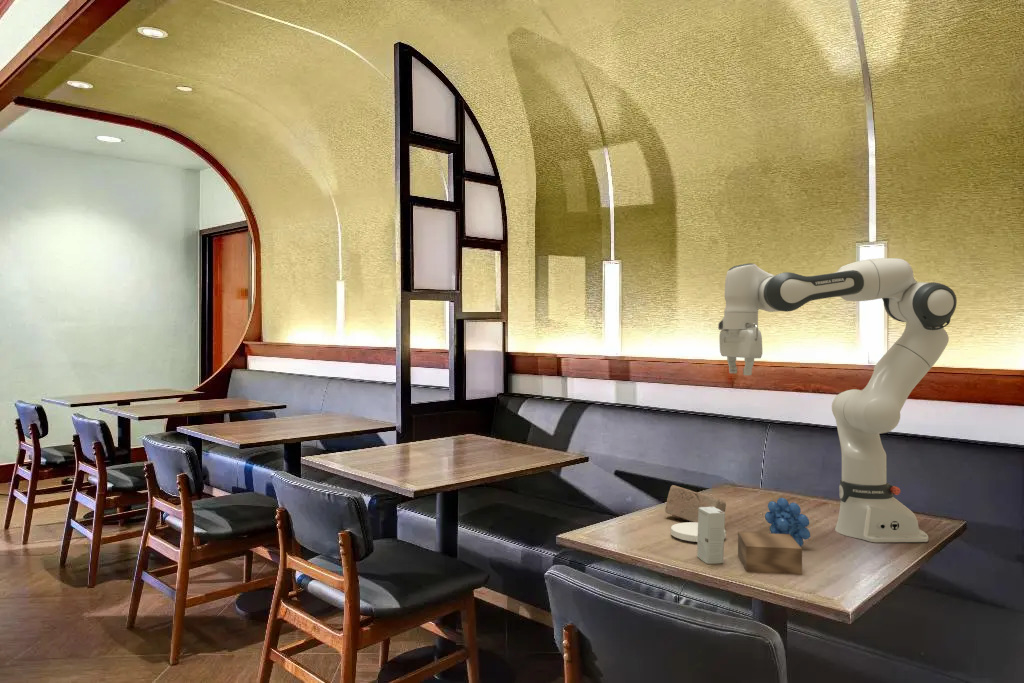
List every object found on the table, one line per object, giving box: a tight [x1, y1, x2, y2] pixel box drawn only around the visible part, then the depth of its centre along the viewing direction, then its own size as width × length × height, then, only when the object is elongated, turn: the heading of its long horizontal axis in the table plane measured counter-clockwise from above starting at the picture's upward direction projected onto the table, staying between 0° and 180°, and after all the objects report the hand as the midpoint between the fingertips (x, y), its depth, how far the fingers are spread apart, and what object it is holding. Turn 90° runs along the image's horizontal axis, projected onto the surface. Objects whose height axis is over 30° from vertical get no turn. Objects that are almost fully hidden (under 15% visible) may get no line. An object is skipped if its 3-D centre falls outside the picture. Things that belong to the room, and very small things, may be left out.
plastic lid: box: [670, 521, 727, 543], centre depth 192 cm, size 14×14×2 cm
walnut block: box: [737, 531, 803, 575], centre depth 169 cm, size 12×12×6 cm
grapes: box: [764, 497, 811, 548], centre depth 183 cm, size 12×7×12 cm, turn 46°
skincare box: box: [696, 507, 726, 565], centre depth 172 cm, size 6×4×12 cm
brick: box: [664, 484, 727, 523], centre depth 205 cm, size 16×8×5 cm
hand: (740, 374), depth 197 cm, fingers open, 8 cm apart
